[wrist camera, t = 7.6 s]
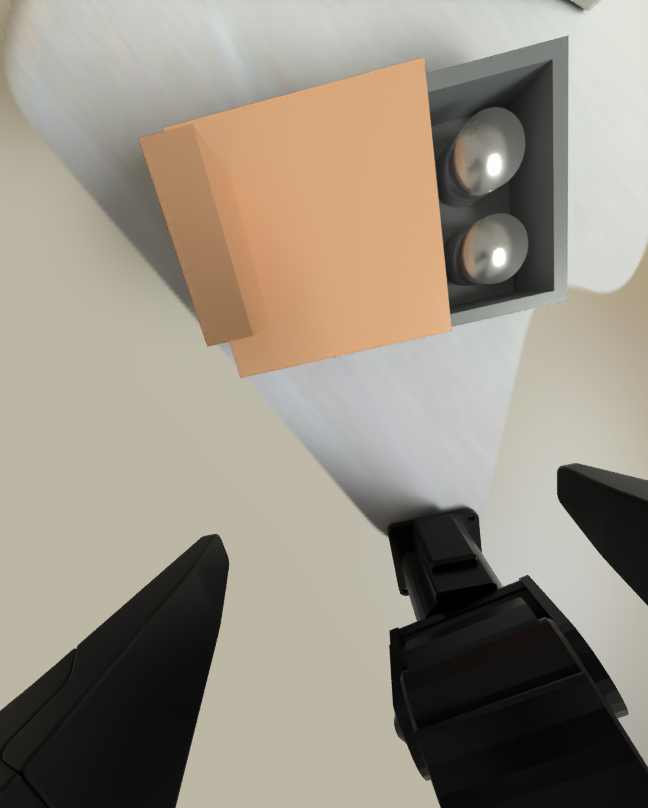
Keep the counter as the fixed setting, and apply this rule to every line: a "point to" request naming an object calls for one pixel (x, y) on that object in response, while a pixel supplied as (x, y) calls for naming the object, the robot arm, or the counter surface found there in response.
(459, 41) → the counter surface
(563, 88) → the tub
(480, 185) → the silver metal ball
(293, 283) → the lid
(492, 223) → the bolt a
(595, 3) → the skincare box
